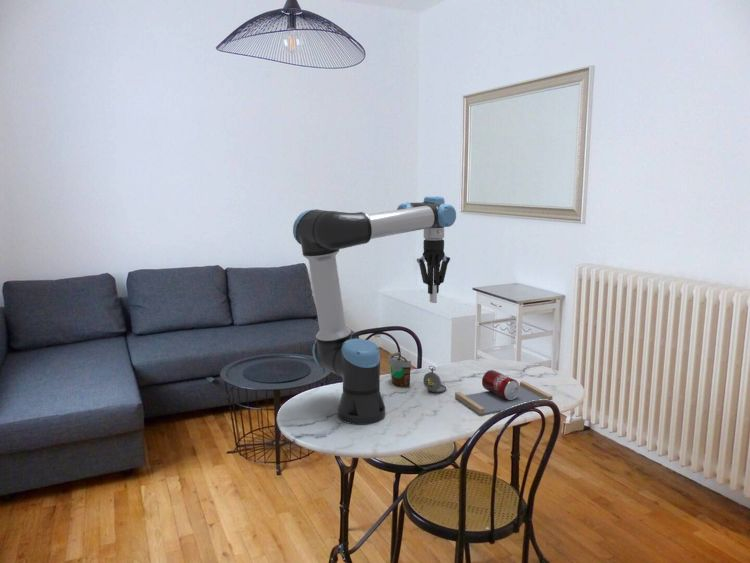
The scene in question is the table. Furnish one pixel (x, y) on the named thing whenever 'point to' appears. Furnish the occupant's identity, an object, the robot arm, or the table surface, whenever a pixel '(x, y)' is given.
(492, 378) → the soda can
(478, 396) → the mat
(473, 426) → the table surface
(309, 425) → the table surface
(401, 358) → the food container
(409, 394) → the table surface
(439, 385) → the pocket watch
